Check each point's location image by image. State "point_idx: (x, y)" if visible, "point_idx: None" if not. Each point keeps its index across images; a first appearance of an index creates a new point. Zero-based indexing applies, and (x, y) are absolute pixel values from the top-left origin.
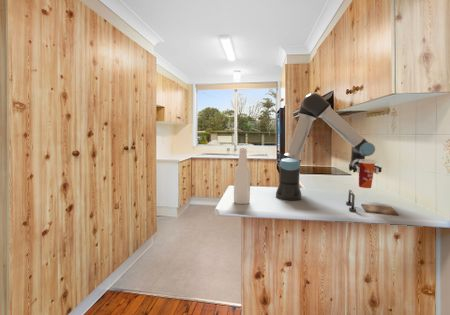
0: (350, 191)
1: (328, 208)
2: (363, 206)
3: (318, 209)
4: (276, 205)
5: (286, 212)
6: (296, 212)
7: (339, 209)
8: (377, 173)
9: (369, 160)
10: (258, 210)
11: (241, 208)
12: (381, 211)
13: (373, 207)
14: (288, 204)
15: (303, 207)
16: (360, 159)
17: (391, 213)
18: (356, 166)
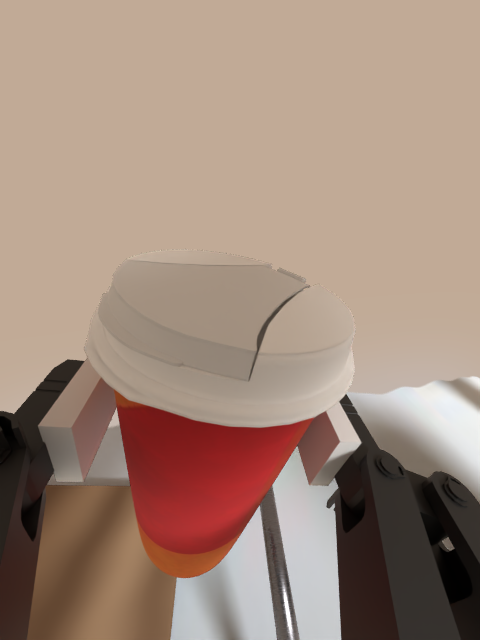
0: (286, 571)
1: (333, 488)
2: (172, 596)
3: None
4: (469, 451)
5: (391, 394)
6: (376, 401)
7: (292, 491)
8: None
9: (211, 264)
10: (439, 391)
11: (472, 394)
12: (109, 494)
13: (105, 602)
14: (467, 485)
15: (403, 461)
16: (348, 320)
17: (66, 486)
18: (342, 409)
